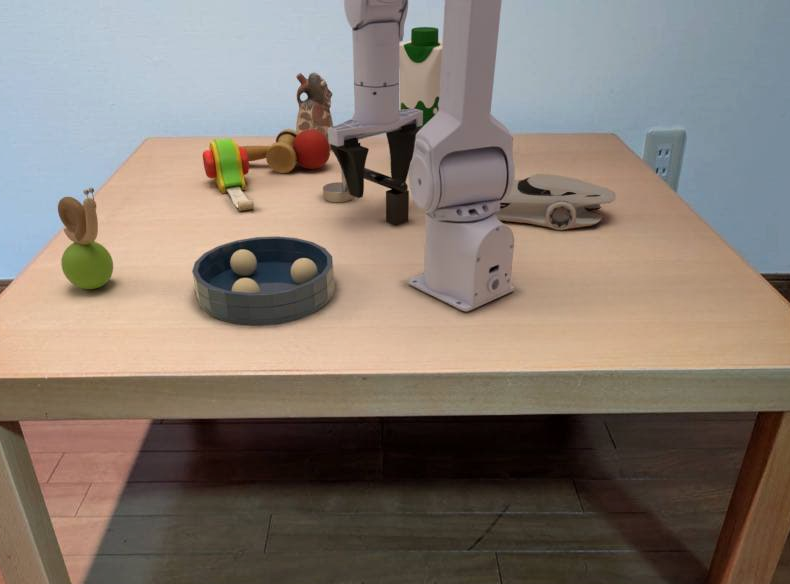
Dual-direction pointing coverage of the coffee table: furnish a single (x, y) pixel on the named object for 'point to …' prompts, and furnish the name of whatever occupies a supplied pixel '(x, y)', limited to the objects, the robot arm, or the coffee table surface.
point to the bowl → (263, 281)
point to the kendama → (293, 150)
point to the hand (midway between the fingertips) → (377, 189)
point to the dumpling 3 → (303, 270)
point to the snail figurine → (83, 244)
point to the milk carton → (421, 72)
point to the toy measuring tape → (228, 170)
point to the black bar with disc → (394, 198)
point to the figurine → (314, 105)
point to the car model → (554, 202)
